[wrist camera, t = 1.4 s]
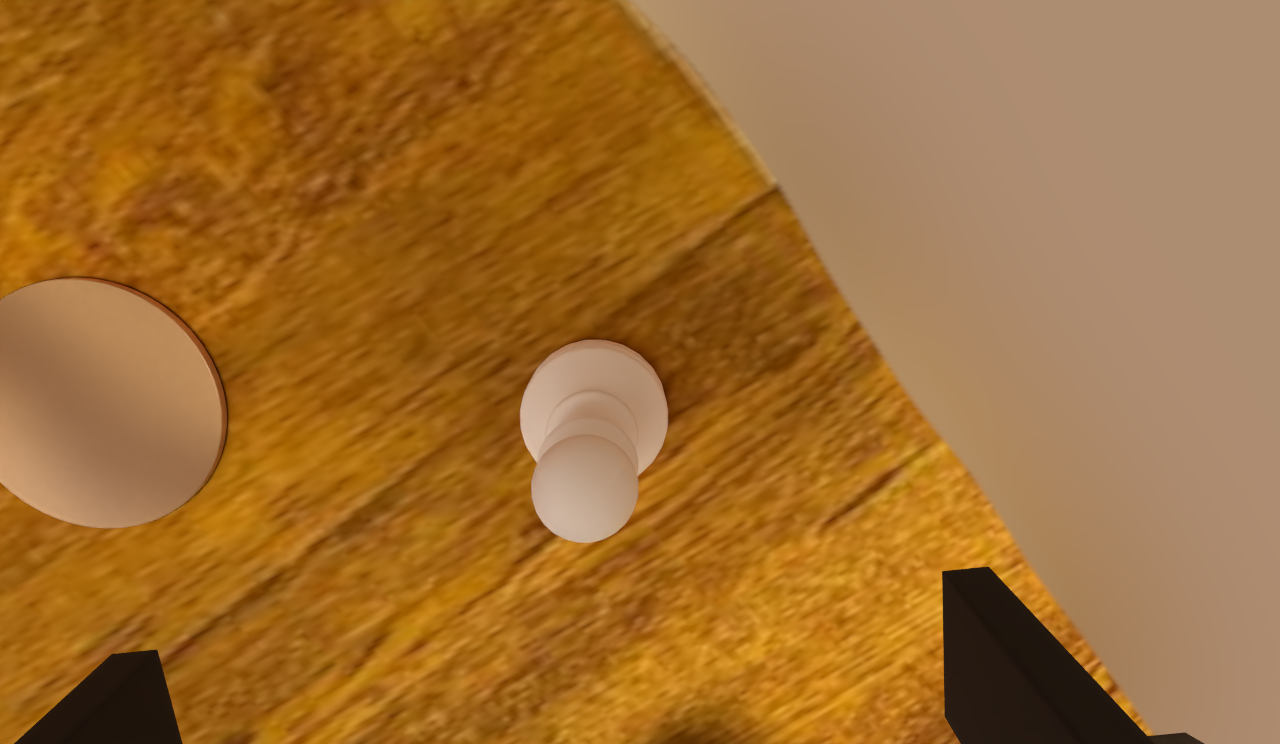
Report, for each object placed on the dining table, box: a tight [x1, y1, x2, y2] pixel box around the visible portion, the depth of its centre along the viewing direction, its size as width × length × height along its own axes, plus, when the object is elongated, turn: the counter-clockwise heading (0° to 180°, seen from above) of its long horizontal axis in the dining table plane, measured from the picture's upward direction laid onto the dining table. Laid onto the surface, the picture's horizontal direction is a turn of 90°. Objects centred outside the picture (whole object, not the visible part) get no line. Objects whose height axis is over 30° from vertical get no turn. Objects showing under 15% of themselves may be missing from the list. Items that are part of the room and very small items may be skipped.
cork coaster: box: [0, 277, 227, 528], centre depth 28 cm, size 9×9×1 cm
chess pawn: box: [520, 340, 668, 543], centre depth 24 cm, size 5×5×9 cm
